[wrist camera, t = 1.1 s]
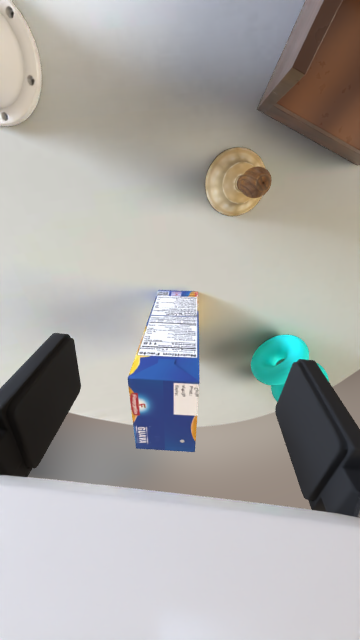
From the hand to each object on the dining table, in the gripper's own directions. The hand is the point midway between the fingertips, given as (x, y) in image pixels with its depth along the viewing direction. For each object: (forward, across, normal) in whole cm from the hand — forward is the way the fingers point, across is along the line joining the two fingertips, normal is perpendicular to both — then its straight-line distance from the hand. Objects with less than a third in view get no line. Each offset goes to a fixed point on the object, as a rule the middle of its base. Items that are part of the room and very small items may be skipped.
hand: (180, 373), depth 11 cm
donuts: (+32, -19, +20) cm, 42 cm away
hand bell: (+32, -5, -8) cm, 33 cm away
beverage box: (+32, +1, +15) cm, 35 cm away
